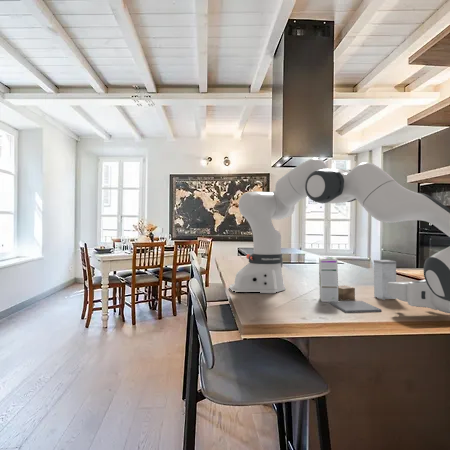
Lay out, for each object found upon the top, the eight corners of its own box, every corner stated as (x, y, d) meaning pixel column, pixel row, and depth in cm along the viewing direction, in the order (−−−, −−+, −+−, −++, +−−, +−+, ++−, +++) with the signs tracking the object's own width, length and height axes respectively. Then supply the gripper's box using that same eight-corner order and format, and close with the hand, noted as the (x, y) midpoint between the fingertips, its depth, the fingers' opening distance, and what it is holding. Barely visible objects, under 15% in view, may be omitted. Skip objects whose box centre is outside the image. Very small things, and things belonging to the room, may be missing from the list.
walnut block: (343, 300, 110) (342, 288, 110) (333, 297, 115) (333, 286, 115) (354, 299, 112) (354, 287, 112) (345, 296, 117) (345, 285, 117)
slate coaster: (345, 312, 94) (345, 310, 94) (329, 303, 105) (329, 301, 105) (381, 311, 95) (381, 309, 95) (361, 302, 106) (361, 300, 106)
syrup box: (338, 302, 107) (338, 258, 107) (320, 302, 108) (320, 258, 108) (336, 298, 112) (336, 257, 112) (318, 298, 113) (318, 256, 113)
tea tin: (382, 300, 110) (382, 261, 110) (373, 296, 115) (373, 260, 115) (396, 299, 111) (396, 261, 111) (387, 296, 116) (387, 259, 116)
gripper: (475, 281, 89) (437, 273, 102) (405, 282, 87) (376, 274, 100) (475, 304, 89) (437, 293, 102) (405, 306, 87) (376, 295, 100)
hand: (406, 284), depth 101 cm, fingers open, 8 cm apart
